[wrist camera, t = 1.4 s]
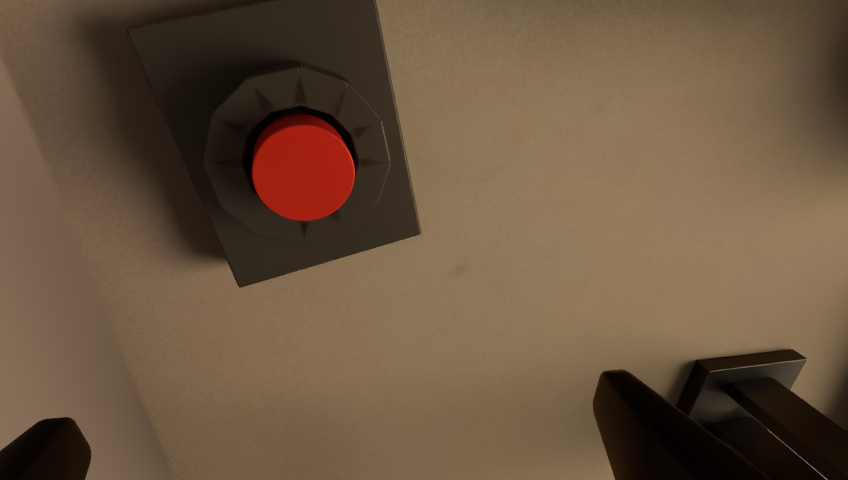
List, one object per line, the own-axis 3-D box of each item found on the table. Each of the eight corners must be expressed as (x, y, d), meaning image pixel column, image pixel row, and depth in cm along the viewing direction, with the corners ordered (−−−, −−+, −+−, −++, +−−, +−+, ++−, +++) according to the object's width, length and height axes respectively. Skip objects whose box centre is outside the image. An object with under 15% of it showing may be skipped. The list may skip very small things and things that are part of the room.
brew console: (409, 215, 23) (434, 252, 19) (241, 263, 21) (236, 313, 18) (361, -18, 18) (383, -23, 15) (140, 25, 17) (107, 30, 13)
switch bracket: (660, 440, 38) (804, 599, 28) (696, 360, 35) (874, 507, 24) (752, 424, 41) (911, 561, 31) (793, 349, 38) (986, 475, 28)
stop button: (356, 189, 18) (365, 206, 16) (270, 212, 17) (271, 233, 16) (334, 103, 16) (341, 113, 15) (239, 126, 16) (236, 139, 14)
